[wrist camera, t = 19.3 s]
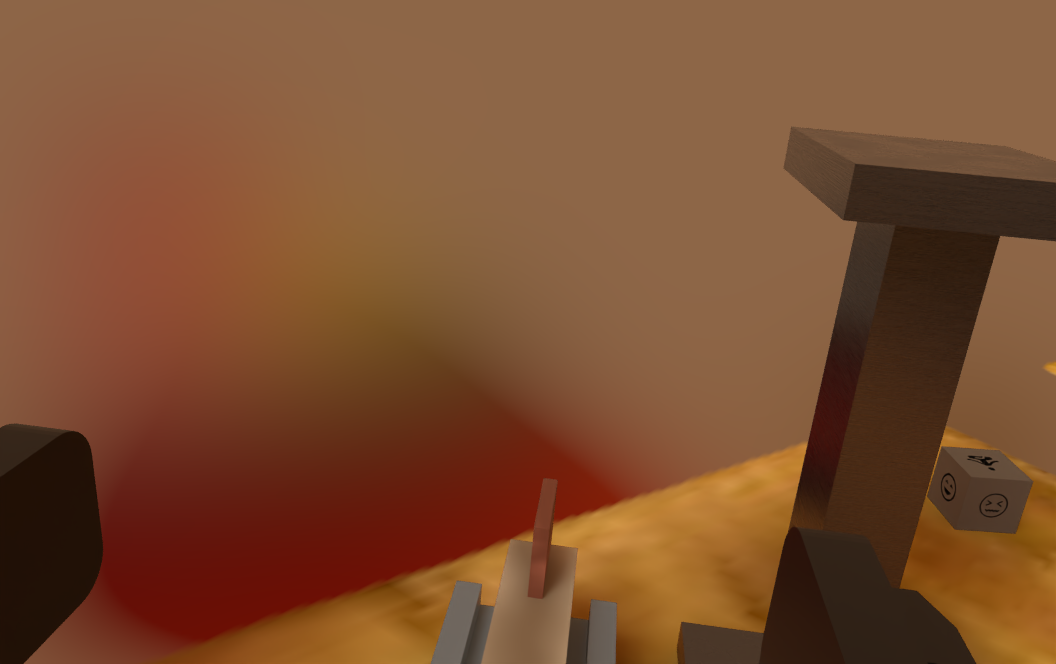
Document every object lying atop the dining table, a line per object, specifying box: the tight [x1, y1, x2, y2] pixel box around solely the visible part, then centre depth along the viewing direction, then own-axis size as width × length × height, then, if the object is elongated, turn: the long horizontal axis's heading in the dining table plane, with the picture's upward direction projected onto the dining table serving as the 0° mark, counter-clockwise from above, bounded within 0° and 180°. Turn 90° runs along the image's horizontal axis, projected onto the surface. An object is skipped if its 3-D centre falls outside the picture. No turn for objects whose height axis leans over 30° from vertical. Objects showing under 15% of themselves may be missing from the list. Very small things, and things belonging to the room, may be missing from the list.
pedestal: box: [677, 127, 1056, 664], centre depth 39 cm, size 12×12×32 cm
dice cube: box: [927, 446, 1033, 534], centre depth 68 cm, size 5×5×5 cm
